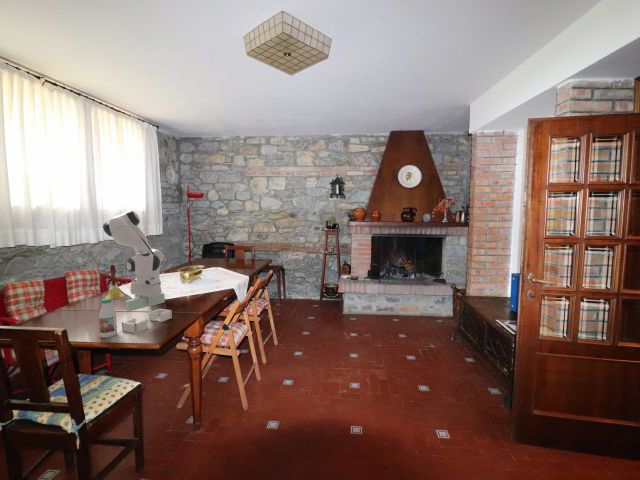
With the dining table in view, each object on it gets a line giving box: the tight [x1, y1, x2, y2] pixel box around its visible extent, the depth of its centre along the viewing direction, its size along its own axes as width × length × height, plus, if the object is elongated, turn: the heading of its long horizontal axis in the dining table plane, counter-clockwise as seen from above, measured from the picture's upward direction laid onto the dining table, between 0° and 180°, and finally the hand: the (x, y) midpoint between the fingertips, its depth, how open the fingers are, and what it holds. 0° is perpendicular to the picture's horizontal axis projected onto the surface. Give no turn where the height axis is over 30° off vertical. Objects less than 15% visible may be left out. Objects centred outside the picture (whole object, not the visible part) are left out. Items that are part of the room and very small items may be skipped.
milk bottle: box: [98, 298, 118, 339], centre depth 172 cm, size 8×8×20 cm
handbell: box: [104, 264, 125, 300], centre depth 246 cm, size 12×12×25 cm
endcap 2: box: [148, 308, 173, 323], centre depth 198 cm, size 8×10×5 cm
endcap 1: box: [121, 317, 149, 334], centre depth 181 cm, size 8×10×5 cm
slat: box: [124, 292, 166, 312], centre depth 188 cm, size 21×4×6 cm, turn 147°
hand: (145, 302), depth 188 cm, fingers closed on slat, 4 cm apart
